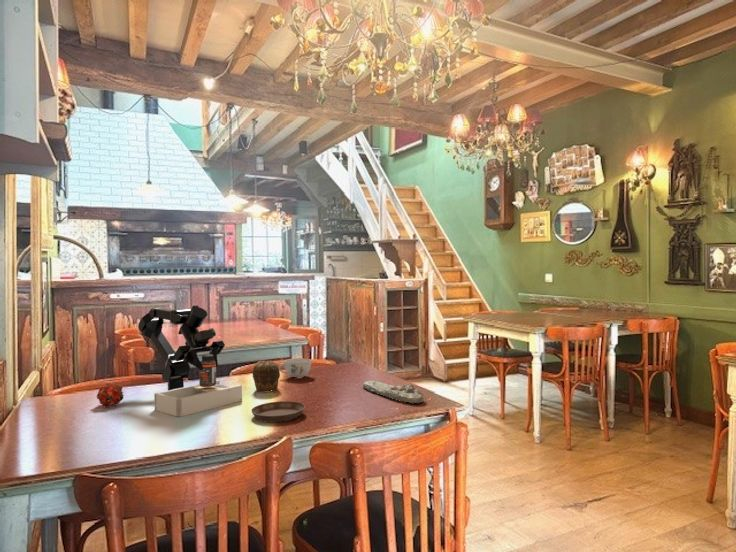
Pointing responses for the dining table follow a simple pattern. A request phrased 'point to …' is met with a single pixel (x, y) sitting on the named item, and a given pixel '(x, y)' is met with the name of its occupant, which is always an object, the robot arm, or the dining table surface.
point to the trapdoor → (210, 388)
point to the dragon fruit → (110, 395)
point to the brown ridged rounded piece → (266, 375)
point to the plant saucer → (278, 411)
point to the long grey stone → (395, 391)
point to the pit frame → (195, 399)
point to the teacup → (296, 367)
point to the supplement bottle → (207, 371)
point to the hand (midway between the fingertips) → (209, 368)
